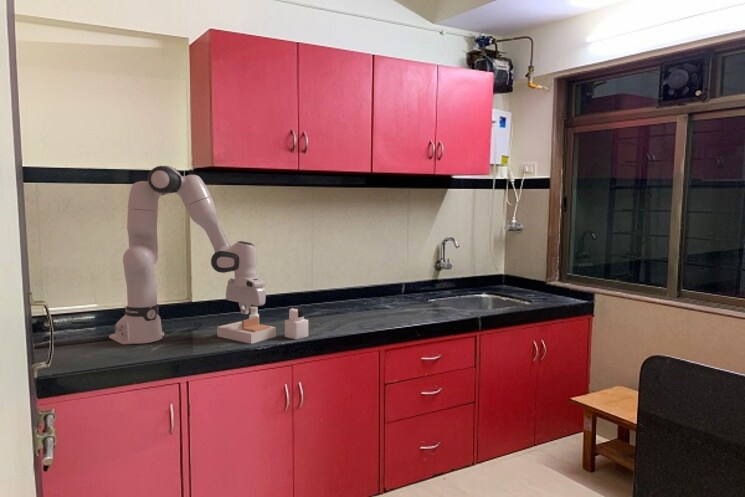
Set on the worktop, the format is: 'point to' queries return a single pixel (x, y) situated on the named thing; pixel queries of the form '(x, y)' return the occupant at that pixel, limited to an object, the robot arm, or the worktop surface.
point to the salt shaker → (253, 312)
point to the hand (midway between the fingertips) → (244, 313)
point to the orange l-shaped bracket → (253, 325)
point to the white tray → (244, 333)
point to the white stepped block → (296, 324)
